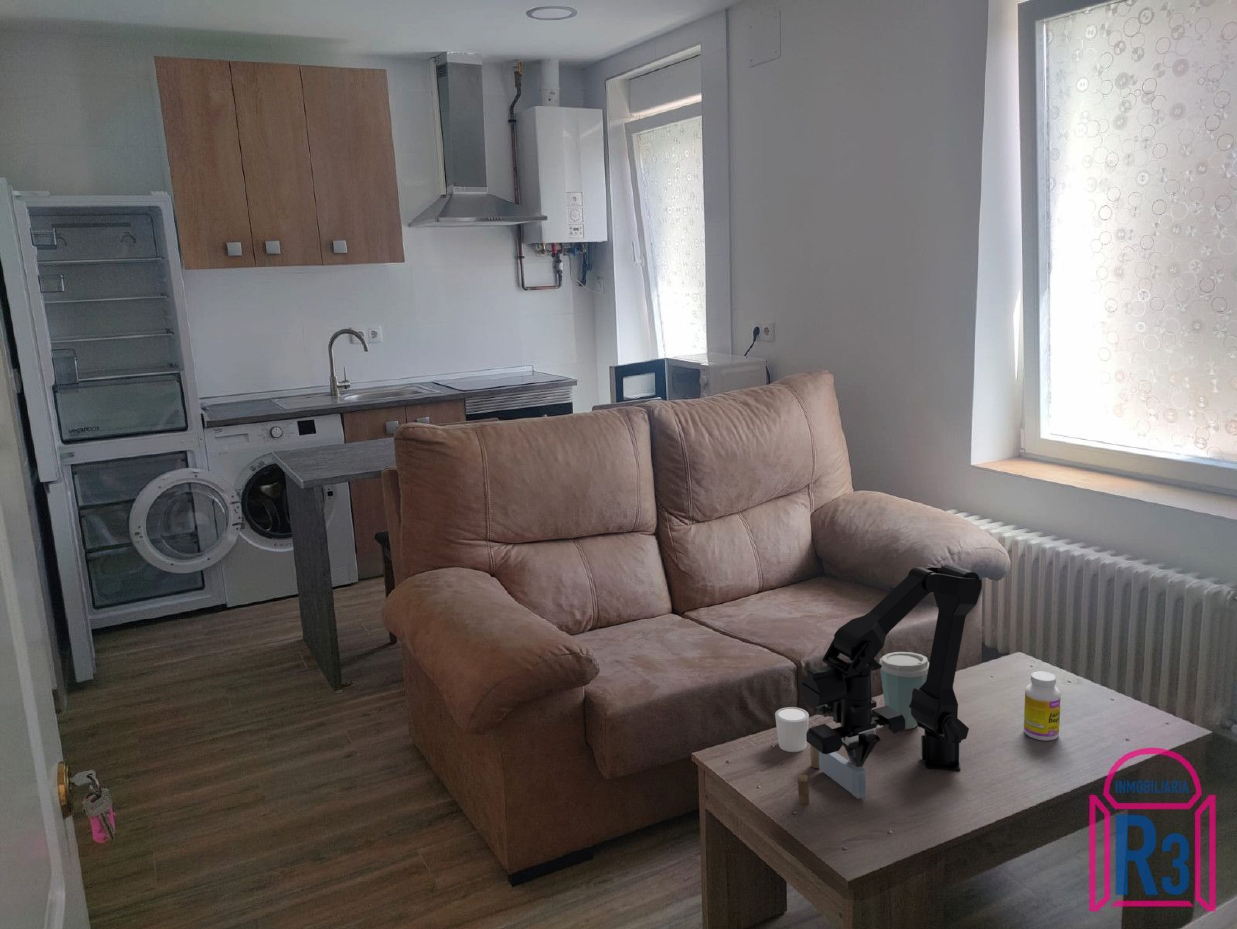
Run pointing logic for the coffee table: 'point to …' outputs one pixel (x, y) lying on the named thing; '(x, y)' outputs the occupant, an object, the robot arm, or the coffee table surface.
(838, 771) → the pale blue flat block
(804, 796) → the brown rectangular block
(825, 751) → the robot arm
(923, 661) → the disposable coffee cup
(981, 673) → the coffee table surface
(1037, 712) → the supplement bottle
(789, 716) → the white cup
